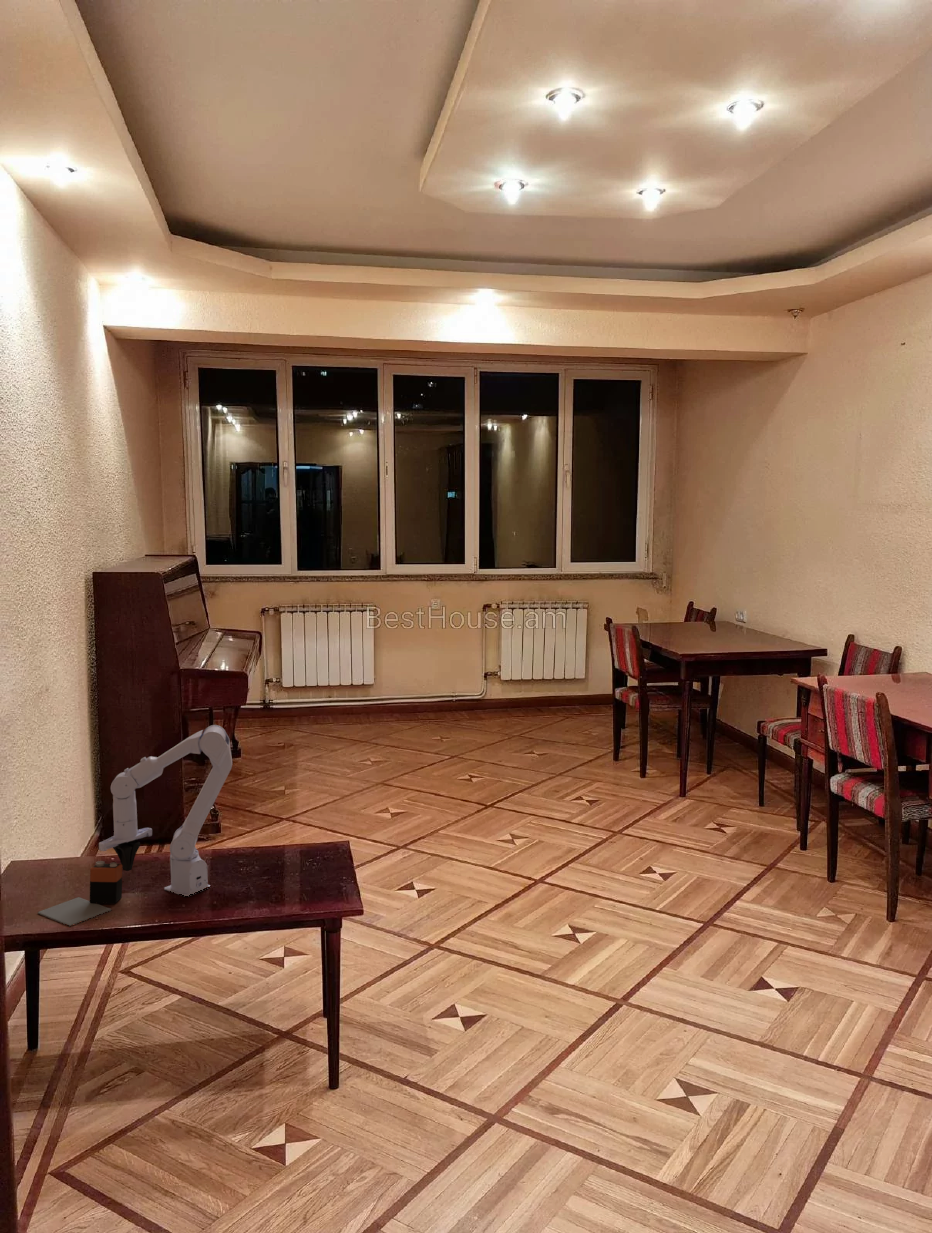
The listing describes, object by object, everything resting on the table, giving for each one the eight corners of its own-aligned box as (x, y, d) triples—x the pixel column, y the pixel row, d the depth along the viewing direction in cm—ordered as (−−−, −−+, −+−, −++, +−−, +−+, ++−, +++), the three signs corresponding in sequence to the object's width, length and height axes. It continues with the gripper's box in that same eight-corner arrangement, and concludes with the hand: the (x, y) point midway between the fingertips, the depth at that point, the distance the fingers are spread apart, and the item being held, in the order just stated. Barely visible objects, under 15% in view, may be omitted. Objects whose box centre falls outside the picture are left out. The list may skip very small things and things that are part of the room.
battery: (95, 897, 224) (96, 859, 224) (122, 898, 224) (123, 860, 224) (88, 903, 219) (89, 864, 219) (115, 904, 220) (116, 865, 219)
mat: (111, 910, 216) (111, 909, 216) (70, 926, 207) (70, 925, 207) (78, 898, 224) (78, 896, 224) (37, 913, 215) (37, 911, 215)
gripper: (139, 809, 234) (141, 858, 235) (90, 823, 222) (93, 875, 223) (156, 813, 230) (158, 863, 231) (107, 828, 218) (109, 880, 219)
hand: (127, 869), depth 227 cm, fingers closed
